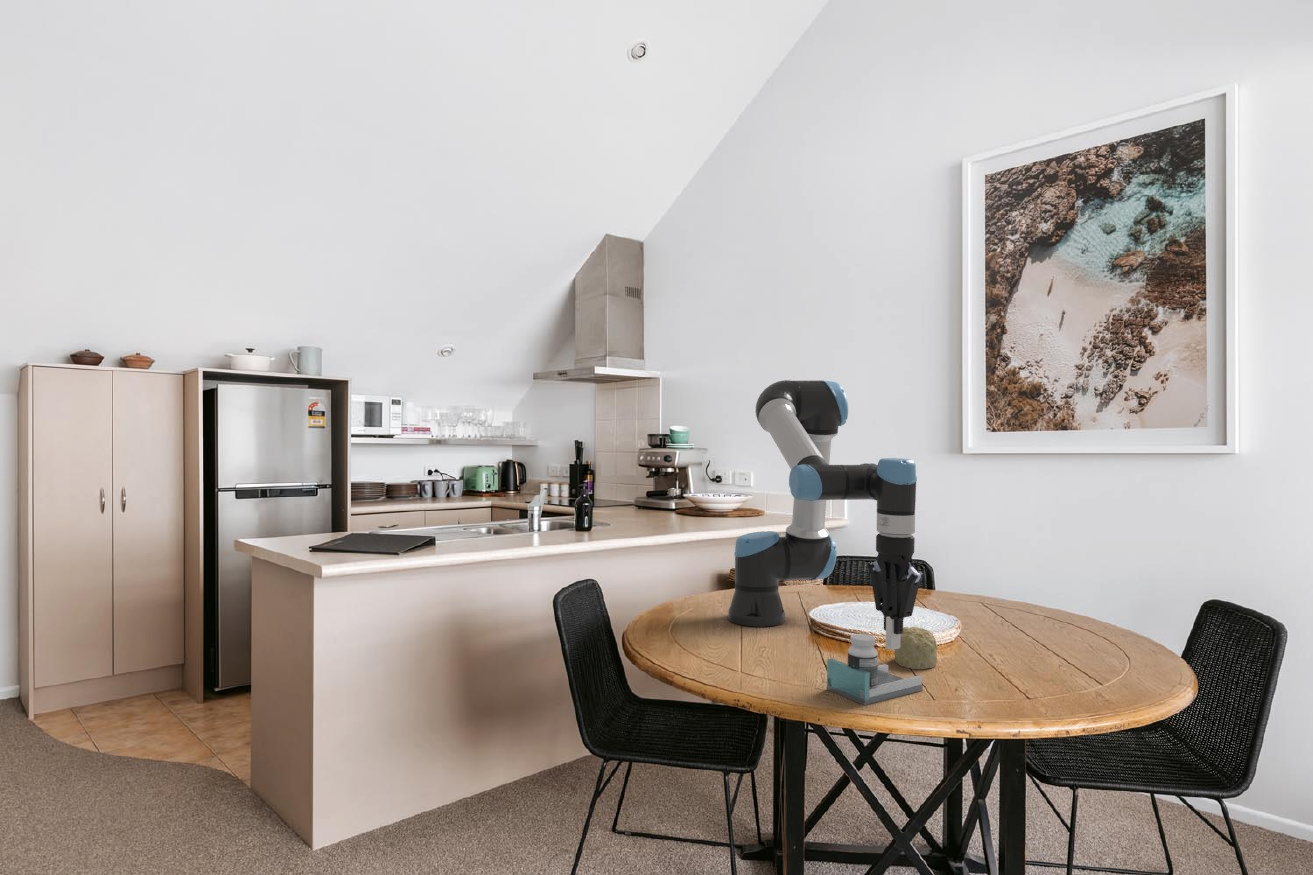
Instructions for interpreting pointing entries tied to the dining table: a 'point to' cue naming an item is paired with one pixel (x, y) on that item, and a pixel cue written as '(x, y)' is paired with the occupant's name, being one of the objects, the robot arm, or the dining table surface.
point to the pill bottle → (864, 655)
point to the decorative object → (916, 649)
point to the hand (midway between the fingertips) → (892, 647)
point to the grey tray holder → (857, 683)
